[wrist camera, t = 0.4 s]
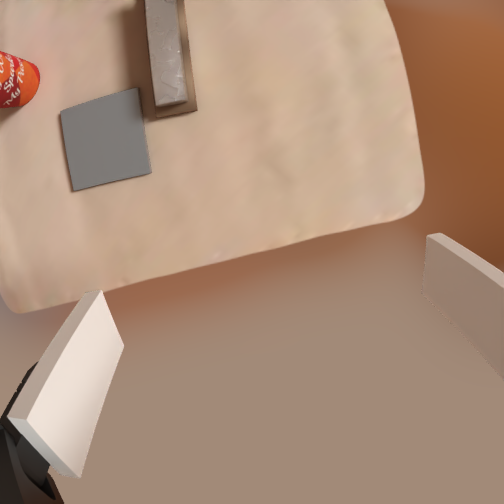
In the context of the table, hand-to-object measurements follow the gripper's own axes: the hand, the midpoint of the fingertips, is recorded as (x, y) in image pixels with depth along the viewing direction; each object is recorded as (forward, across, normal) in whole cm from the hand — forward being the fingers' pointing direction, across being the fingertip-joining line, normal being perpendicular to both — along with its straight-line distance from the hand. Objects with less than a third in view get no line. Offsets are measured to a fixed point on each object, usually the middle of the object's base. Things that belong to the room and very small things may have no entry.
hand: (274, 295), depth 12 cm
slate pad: (+26, -15, +8) cm, 31 cm away
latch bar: (+24, -6, +18) cm, 30 cm away
